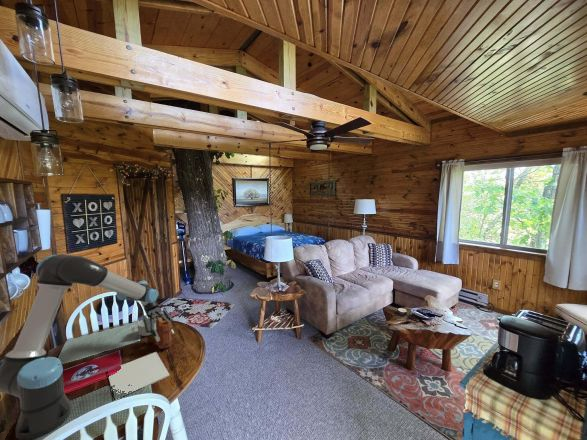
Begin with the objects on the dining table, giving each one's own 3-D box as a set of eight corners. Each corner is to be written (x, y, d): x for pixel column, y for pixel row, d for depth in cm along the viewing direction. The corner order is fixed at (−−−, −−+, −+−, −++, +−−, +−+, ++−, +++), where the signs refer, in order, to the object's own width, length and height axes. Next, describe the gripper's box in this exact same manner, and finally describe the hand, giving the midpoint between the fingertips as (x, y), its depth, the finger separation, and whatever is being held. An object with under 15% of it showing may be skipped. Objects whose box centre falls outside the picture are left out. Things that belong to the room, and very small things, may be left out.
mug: (175, 346, 141) (174, 321, 140) (160, 352, 135) (159, 327, 134) (165, 336, 151) (164, 313, 149) (151, 342, 145) (150, 318, 143)
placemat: (114, 401, 103) (114, 400, 103) (107, 371, 121) (107, 370, 121) (169, 375, 119) (169, 374, 118) (156, 352, 136) (156, 351, 136)
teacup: (155, 327, 162) (154, 315, 162) (159, 333, 155) (159, 321, 154) (130, 334, 153) (130, 322, 152) (133, 342, 145) (133, 329, 144)
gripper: (163, 301, 158) (179, 332, 151) (129, 313, 140) (145, 349, 133) (168, 295, 155) (184, 326, 148) (133, 307, 137) (150, 343, 130)
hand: (165, 337), depth 140 cm, fingers closed on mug, 8 cm apart
